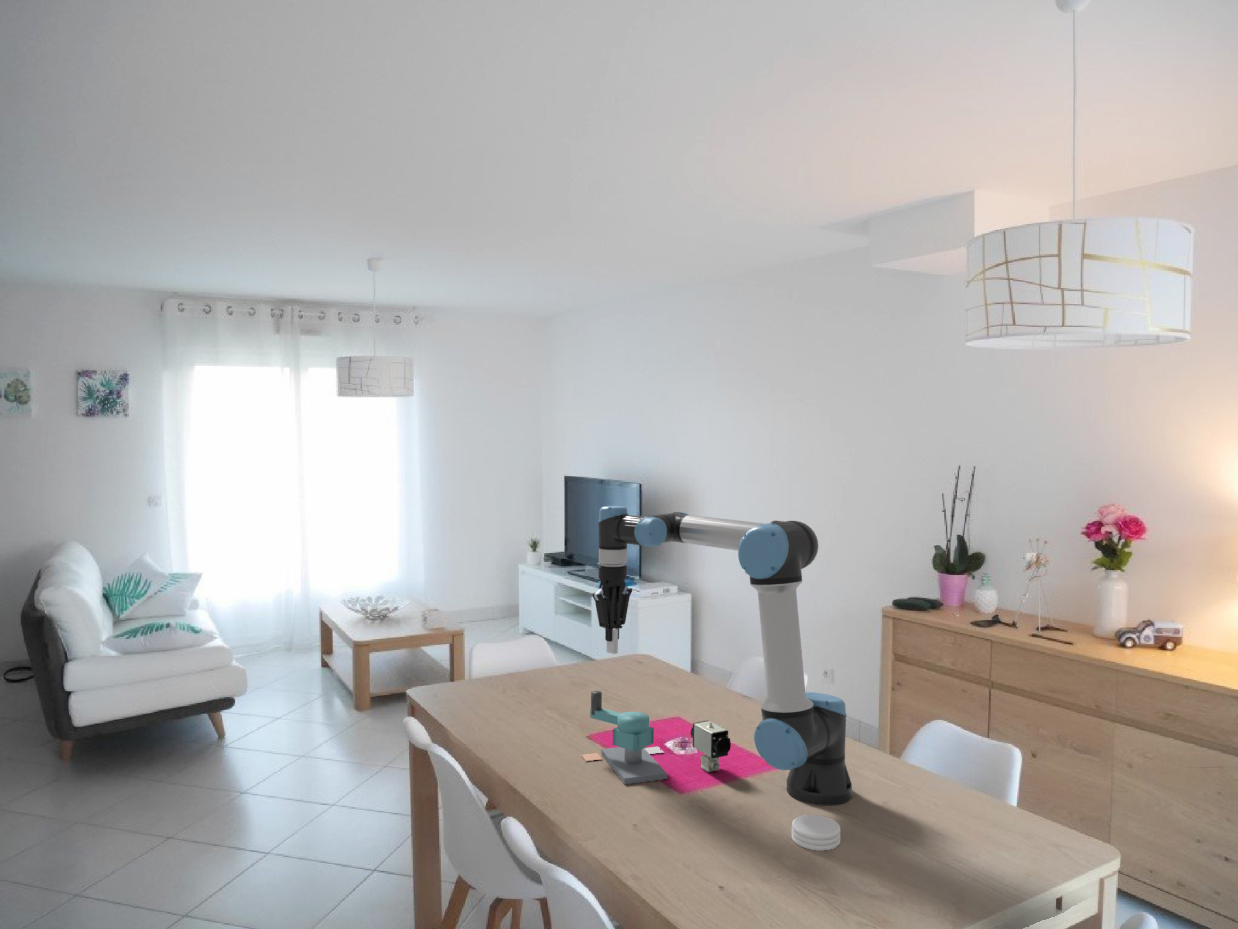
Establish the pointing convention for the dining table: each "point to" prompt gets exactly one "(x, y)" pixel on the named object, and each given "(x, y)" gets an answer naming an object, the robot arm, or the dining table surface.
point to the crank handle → (624, 725)
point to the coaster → (816, 832)
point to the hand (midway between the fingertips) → (612, 652)
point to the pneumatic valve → (710, 743)
